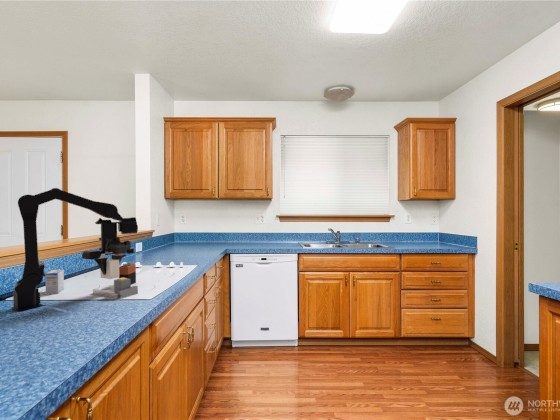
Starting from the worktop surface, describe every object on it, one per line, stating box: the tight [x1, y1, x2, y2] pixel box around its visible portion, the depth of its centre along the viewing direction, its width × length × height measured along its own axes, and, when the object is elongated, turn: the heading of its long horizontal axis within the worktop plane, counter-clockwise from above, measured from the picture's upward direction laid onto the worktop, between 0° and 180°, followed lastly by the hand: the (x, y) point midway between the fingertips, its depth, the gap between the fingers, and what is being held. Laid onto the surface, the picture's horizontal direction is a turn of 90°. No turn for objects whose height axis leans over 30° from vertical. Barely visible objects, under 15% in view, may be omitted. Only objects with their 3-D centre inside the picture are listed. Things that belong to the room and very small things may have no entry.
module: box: [100, 258, 120, 280], centre depth 126 cm, size 4×6×7 cm
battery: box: [118, 262, 137, 286], centre depth 139 cm, size 4×7×10 cm, turn 175°
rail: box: [92, 284, 139, 300], centre depth 124 cm, size 8×17×4 cm, turn 62°
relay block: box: [113, 277, 132, 293], centre depth 122 cm, size 4×4×6 cm
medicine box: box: [44, 269, 65, 295], centre depth 131 cm, size 8×4×9 cm, turn 21°
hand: (109, 273), depth 126 cm, fingers closed on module, 4 cm apart
